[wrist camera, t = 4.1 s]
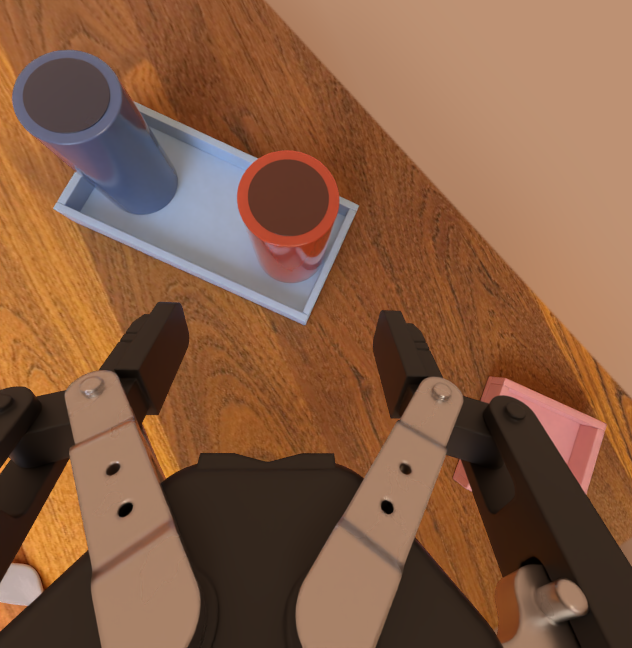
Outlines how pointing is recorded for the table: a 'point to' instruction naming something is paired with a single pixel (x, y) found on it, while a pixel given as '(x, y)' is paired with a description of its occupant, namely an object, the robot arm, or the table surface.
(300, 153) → the red spoon pot
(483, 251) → the table surface
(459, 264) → the table surface
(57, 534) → the table surface
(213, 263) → the blue tray
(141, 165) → the blue pot
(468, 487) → the pink tray
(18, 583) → the fork
